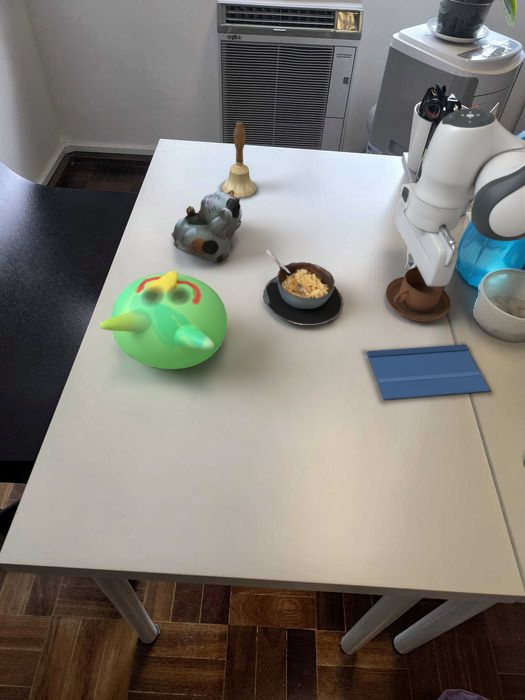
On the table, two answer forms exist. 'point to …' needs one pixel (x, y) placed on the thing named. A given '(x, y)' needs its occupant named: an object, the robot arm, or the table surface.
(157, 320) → the toy bird
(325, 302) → the soup bowl
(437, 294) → the cup and saucer
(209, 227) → the lucky cat figurine
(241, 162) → the hand bell
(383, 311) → the table surface
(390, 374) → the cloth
